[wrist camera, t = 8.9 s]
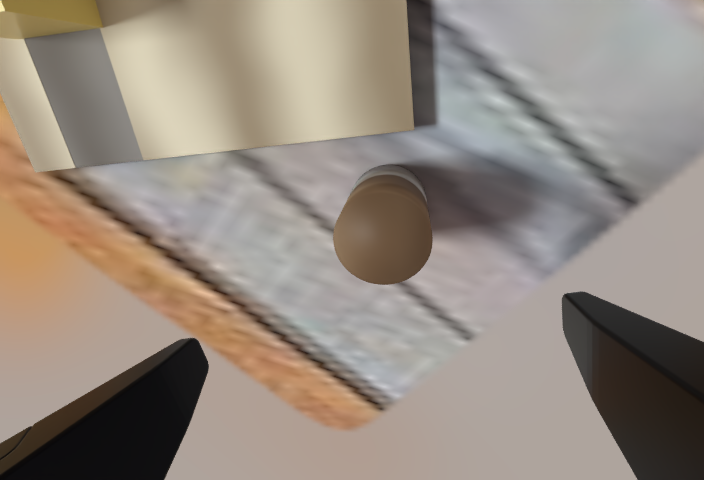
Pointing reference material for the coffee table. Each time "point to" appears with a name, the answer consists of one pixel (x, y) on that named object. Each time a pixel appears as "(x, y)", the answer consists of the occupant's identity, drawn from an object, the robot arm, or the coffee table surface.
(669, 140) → the coffee table surface
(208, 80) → the plywood panel
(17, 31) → the block
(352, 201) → the peg
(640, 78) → the coffee table surface
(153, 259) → the coffee table surface
